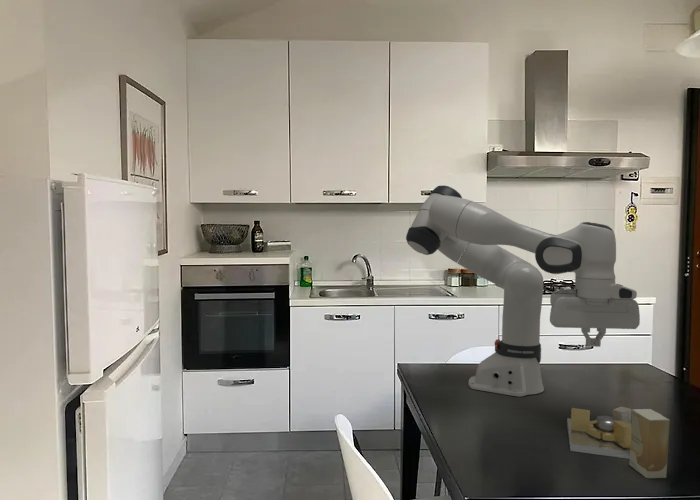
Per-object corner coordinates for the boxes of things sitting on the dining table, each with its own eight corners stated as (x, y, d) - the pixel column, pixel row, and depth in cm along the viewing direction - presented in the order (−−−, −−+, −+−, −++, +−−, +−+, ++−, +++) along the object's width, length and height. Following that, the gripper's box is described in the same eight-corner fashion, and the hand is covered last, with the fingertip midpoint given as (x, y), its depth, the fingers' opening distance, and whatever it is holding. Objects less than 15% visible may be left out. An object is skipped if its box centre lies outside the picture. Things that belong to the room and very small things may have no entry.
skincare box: (628, 465, 114) (630, 408, 114) (647, 464, 115) (650, 407, 114) (647, 479, 108) (649, 419, 107) (668, 479, 108) (670, 418, 108)
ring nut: (572, 441, 122) (573, 421, 122) (569, 418, 136) (569, 400, 136) (640, 449, 117) (641, 429, 117) (629, 425, 131) (630, 407, 131)
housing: (570, 450, 121) (571, 427, 121) (567, 424, 137) (567, 403, 137) (656, 462, 116) (657, 438, 115) (642, 433, 132) (642, 411, 131)
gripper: (554, 290, 129) (553, 348, 130) (643, 291, 127) (641, 350, 128) (546, 287, 135) (545, 342, 136) (632, 288, 134) (630, 344, 134)
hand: (593, 346), depth 132 cm, fingers closed
